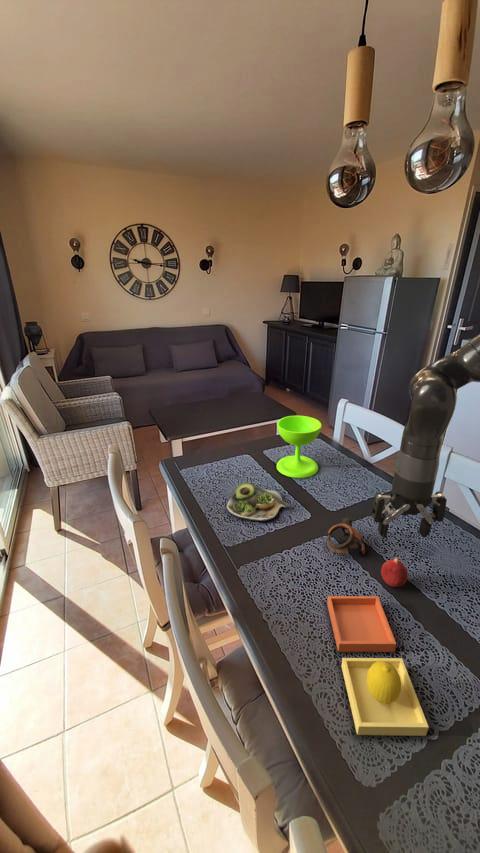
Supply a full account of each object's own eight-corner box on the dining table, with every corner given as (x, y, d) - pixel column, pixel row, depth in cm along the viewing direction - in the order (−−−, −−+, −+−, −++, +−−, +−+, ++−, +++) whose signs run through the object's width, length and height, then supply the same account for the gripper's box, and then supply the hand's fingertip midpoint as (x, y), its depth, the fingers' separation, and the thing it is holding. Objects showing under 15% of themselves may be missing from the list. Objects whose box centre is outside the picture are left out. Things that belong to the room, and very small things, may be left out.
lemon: (397, 718, 61) (405, 689, 58) (363, 706, 63) (368, 678, 59) (397, 686, 66) (403, 657, 62) (365, 675, 67) (370, 647, 64)
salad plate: (295, 496, 121) (295, 484, 119) (281, 529, 106) (281, 517, 104) (241, 485, 127) (240, 474, 126) (221, 516, 112) (220, 504, 110)
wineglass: (268, 470, 137) (268, 426, 129) (288, 453, 149) (289, 412, 141) (307, 482, 128) (310, 437, 121) (325, 463, 140) (328, 420, 133)
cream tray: (400, 666, 69) (402, 658, 68) (426, 735, 59) (428, 727, 58) (341, 666, 70) (342, 657, 69) (357, 735, 59) (358, 726, 58)
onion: (410, 591, 85) (416, 565, 82) (389, 597, 84) (394, 571, 80) (394, 572, 90) (399, 548, 87) (374, 578, 89) (378, 553, 85)
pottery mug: (369, 564, 93) (357, 546, 90) (334, 569, 98) (322, 552, 94) (365, 525, 102) (354, 508, 99) (333, 531, 107) (322, 514, 103)
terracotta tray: (376, 604, 82) (377, 596, 81) (394, 652, 72) (396, 643, 71) (327, 603, 82) (327, 596, 81) (338, 652, 72) (339, 643, 71)
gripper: (386, 481, 68) (375, 547, 75) (462, 480, 68) (444, 547, 75) (373, 462, 75) (364, 524, 82) (442, 460, 75) (427, 523, 82)
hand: (402, 535), depth 78 cm, fingers open, 8 cm apart
